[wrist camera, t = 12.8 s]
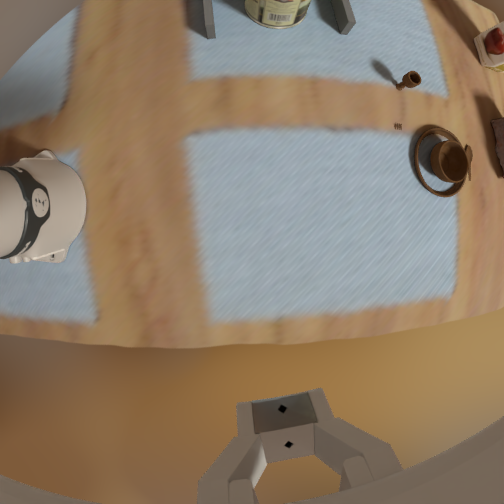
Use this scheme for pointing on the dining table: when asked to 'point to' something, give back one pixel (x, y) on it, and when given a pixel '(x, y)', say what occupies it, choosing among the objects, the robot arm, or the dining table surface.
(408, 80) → the place setting
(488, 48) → the juice carton
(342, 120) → the dining table surface
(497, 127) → the food item
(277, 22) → the coffee can
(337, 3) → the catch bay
